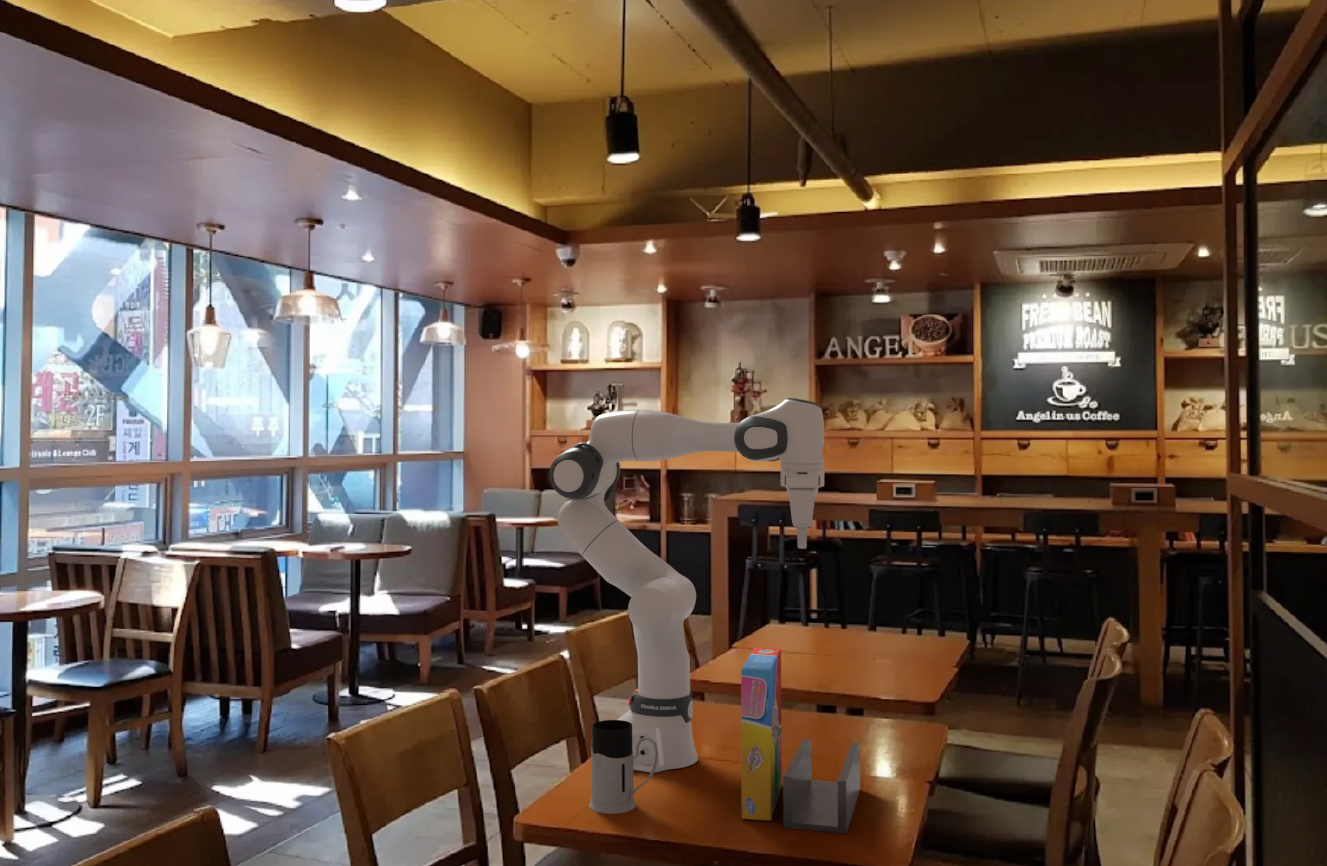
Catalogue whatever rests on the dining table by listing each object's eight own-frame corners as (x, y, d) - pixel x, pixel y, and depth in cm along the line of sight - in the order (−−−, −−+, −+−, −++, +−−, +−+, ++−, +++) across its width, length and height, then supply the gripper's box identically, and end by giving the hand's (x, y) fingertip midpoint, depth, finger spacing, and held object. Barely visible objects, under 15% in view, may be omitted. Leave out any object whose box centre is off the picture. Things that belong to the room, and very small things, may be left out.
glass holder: (606, 794, 203) (605, 716, 203) (669, 807, 196) (669, 726, 196) (579, 808, 195) (579, 727, 195) (644, 822, 188) (644, 738, 188)
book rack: (783, 827, 185) (783, 776, 185) (803, 784, 208) (803, 738, 208) (846, 833, 182) (846, 781, 182) (860, 789, 205) (859, 742, 205)
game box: (771, 822, 188) (770, 669, 188) (741, 820, 189) (740, 668, 189) (782, 784, 208) (781, 647, 208) (754, 783, 209) (753, 646, 209)
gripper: (787, 476, 225) (787, 540, 225) (785, 479, 205) (785, 550, 205) (817, 476, 224) (817, 541, 224) (818, 479, 204) (818, 551, 204)
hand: (802, 545), depth 214 cm, fingers open, 8 cm apart
